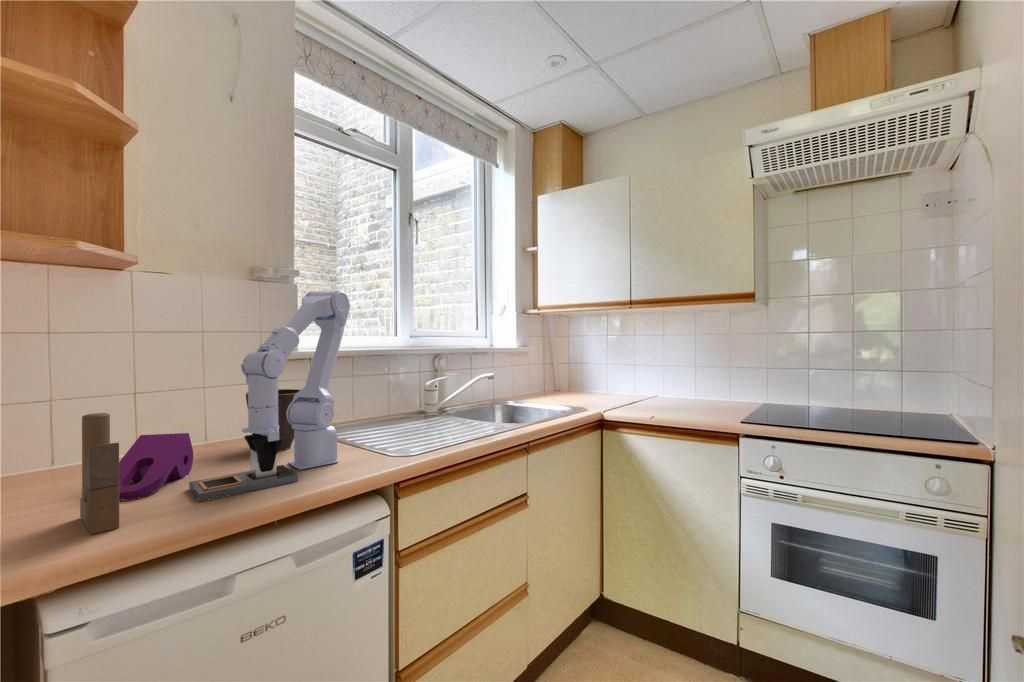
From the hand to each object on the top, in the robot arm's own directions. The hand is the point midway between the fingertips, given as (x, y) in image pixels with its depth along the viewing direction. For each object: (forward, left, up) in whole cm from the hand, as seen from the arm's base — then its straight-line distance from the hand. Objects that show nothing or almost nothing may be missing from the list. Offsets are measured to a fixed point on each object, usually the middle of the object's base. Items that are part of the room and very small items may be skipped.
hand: (263, 468), depth 98 cm
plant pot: (-11, -30, -3) cm, 32 cm away
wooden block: (+27, +5, -3) cm, 27 cm away
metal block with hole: (0, 0, -2) cm, 2 cm away
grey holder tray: (+4, 0, -3) cm, 4 cm away
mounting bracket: (+18, -14, -3) cm, 23 cm away
